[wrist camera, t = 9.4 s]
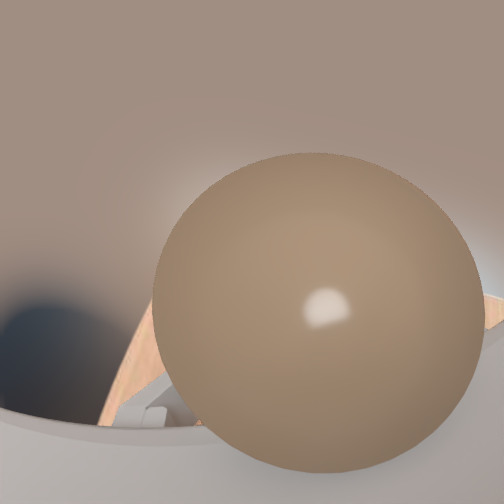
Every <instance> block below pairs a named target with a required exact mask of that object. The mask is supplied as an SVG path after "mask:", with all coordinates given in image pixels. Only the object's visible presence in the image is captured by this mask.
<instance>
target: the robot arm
mask: <svg viewBox="0 0 504 504" xmlns="http://www.w3.org/2000/svg"><path fill="white" fill-rule="evenodd" d="M198 420H199V419H198V418H197V417H196V415H195V414H194V413H193V412H192V411H191V410H190V409H189V408H188V406H187V405H186V404H185V402H184V401H183V399H182V398H181V396H180V395H179V393H178V392H177V390H176V389H175V387H174V385H173V384H172V382H171V379H170V377H169V375H168V373H167V371H165V372H164V373H163V374H162V375H160V376H159V377H158V378H156V379H155V380H154V381H152V382H151V383H150V384H149V385H147V386H146V387H145V388H143V389H142V390H141V391H139V392H138V393H137V394H135V395H134V396H133V397H131V398H130V399H129V400H127V401H126V402H125V403H123V404H122V405H121V406H119V409H118V411H117V414H116V416H115V419H114V421H113V424H112V427H111V426H97V425H86V424H78V423H70V422H63V421H56V420H50V419H45V418H40V417H34V416H30V415H25V414H21V413H17V412H13V411H10V410H6V409H3V408H0V504H504V320H503V321H501V322H500V323H499V324H497V325H496V326H494V327H492V328H491V329H489V330H488V329H486V328H485V327H484V338H483V344H482V349H481V354H480V358H479V361H478V364H477V367H476V370H475V373H474V376H473V378H472V380H471V382H470V384H469V386H468V388H467V390H466V392H465V394H464V396H463V397H462V399H461V400H460V402H459V403H458V405H457V406H456V407H455V409H454V410H453V412H452V413H451V414H450V416H449V417H448V418H447V419H446V420H445V421H444V422H443V423H442V424H441V425H440V426H439V427H438V428H437V429H436V430H435V431H434V432H433V433H432V434H431V435H429V436H428V437H427V438H426V439H424V440H423V441H422V442H420V443H419V444H418V445H416V446H415V447H413V448H412V449H410V450H408V451H406V452H405V453H403V454H401V455H399V456H397V457H395V458H394V459H391V460H389V461H386V462H383V463H381V464H378V465H375V466H372V467H369V468H365V469H360V470H355V471H349V472H343V473H307V472H300V471H294V470H288V469H283V468H280V467H277V466H273V465H270V464H267V463H265V462H262V461H259V460H256V459H254V458H252V457H250V456H248V455H246V454H245V453H243V452H241V451H239V450H237V449H235V448H233V447H232V446H230V445H229V444H227V443H226V442H225V441H223V440H222V439H221V438H219V437H218V436H217V435H216V434H214V433H213V432H212V431H210V430H209V429H208V428H207V427H206V426H205V425H197V426H194V425H195V424H196V423H197V421H198Z"/></svg>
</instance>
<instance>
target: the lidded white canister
mask: <svg viewBox="0 0 504 504" xmlns="http://www.w3.org/2000/svg"><path fill="white" fill-rule="evenodd" d="M152 315H153V324H154V332H155V338H156V341H157V345H158V349H159V352H160V356H161V359H162V362H163V364H164V366H165V369H166V371H167V373H168V375H169V377H170V379H171V382H172V384H173V385H174V387H175V389H176V390H177V392H178V393H179V395H180V396H181V398H182V399H183V401H184V402H185V404H186V405H187V406H188V408H189V409H190V410H191V411H192V412H193V413H194V414H195V415H196V417H197V418H198V419H199V420H200V421H201V422H202V423H203V424H204V425H205V426H206V427H207V428H208V429H209V430H210V431H212V432H213V433H214V434H216V435H217V436H218V437H219V438H221V439H222V440H223V441H225V442H226V443H227V444H229V445H230V446H232V447H233V448H235V449H237V450H239V451H241V452H243V453H245V454H246V455H248V456H250V457H252V458H254V459H256V460H259V461H262V462H265V463H267V464H270V465H273V466H277V467H280V468H283V469H288V470H294V471H300V472H307V473H343V472H349V471H355V470H360V469H365V468H369V467H372V466H375V465H378V464H381V463H383V462H386V461H389V460H391V459H394V458H395V457H397V456H399V455H401V454H403V453H405V452H406V451H408V450H410V449H412V448H413V447H415V446H416V445H418V444H419V443H420V442H422V441H423V440H424V439H426V438H427V437H428V436H429V435H431V434H432V433H433V432H434V431H435V430H436V429H437V428H438V427H439V426H440V425H441V424H442V423H443V422H444V421H445V420H446V419H447V418H448V417H449V416H450V414H451V413H452V412H453V410H454V409H455V407H456V406H457V405H458V403H459V402H460V400H461V399H462V397H463V396H464V394H465V392H466V390H467V388H468V386H469V384H470V382H471V380H472V378H473V376H474V373H475V370H476V367H477V364H478V361H479V358H480V354H481V349H482V344H483V338H484V326H485V309H484V296H483V291H482V286H481V281H480V277H479V274H478V271H477V268H476V264H475V262H474V259H473V257H472V255H471V252H470V250H469V248H468V246H467V244H466V242H465V241H464V239H463V237H462V236H461V234H460V232H459V230H458V229H457V228H456V226H455V225H454V224H453V222H452V221H451V219H450V218H449V217H448V216H447V214H446V213H445V212H444V211H443V210H442V209H441V208H440V207H439V206H438V205H437V204H436V203H435V202H434V201H433V200H432V199H431V198H430V197H429V196H428V195H426V194H425V193H424V192H423V191H422V190H420V189H419V188H417V187H416V186H415V185H413V184H412V183H410V182H409V181H408V180H406V179H404V178H402V177H401V176H399V175H397V174H395V173H393V172H392V171H389V170H387V169H385V168H383V167H380V166H378V165H376V164H372V163H370V162H366V161H364V160H360V159H356V158H352V157H347V156H343V155H336V154H328V153H297V154H288V155H282V156H276V157H272V158H268V159H265V160H261V161H258V162H255V163H253V164H250V165H247V166H245V167H243V168H240V169H238V170H236V171H234V172H233V173H231V174H229V175H227V176H225V177H224V178H222V179H221V180H219V181H218V182H216V183H215V184H214V185H212V186H211V187H209V188H208V189H207V190H206V191H205V192H204V193H202V194H201V195H200V196H199V197H198V198H197V199H196V200H195V201H194V202H193V203H192V204H191V205H190V206H189V208H188V209H187V210H186V211H185V212H184V213H183V215H182V216H181V218H180V219H179V221H178V222H177V224H176V225H175V227H174V228H173V230H172V232H171V234H170V236H169V237H168V240H167V242H166V244H165V246H164V248H163V251H162V254H161V257H160V259H159V263H158V265H157V269H156V275H155V280H154V286H153V301H152Z"/></svg>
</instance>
